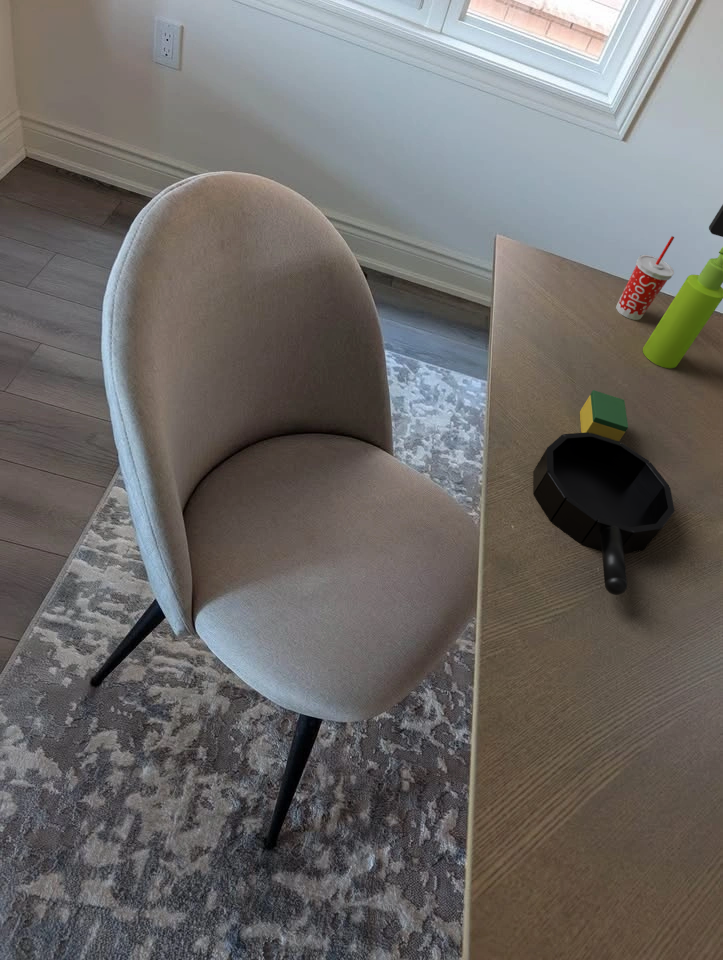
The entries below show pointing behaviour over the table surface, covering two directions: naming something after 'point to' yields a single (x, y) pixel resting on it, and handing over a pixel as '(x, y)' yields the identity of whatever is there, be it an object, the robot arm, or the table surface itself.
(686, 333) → the soap dispenser
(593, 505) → the pan
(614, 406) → the sponge
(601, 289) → the table surface
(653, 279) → the beverage cup
